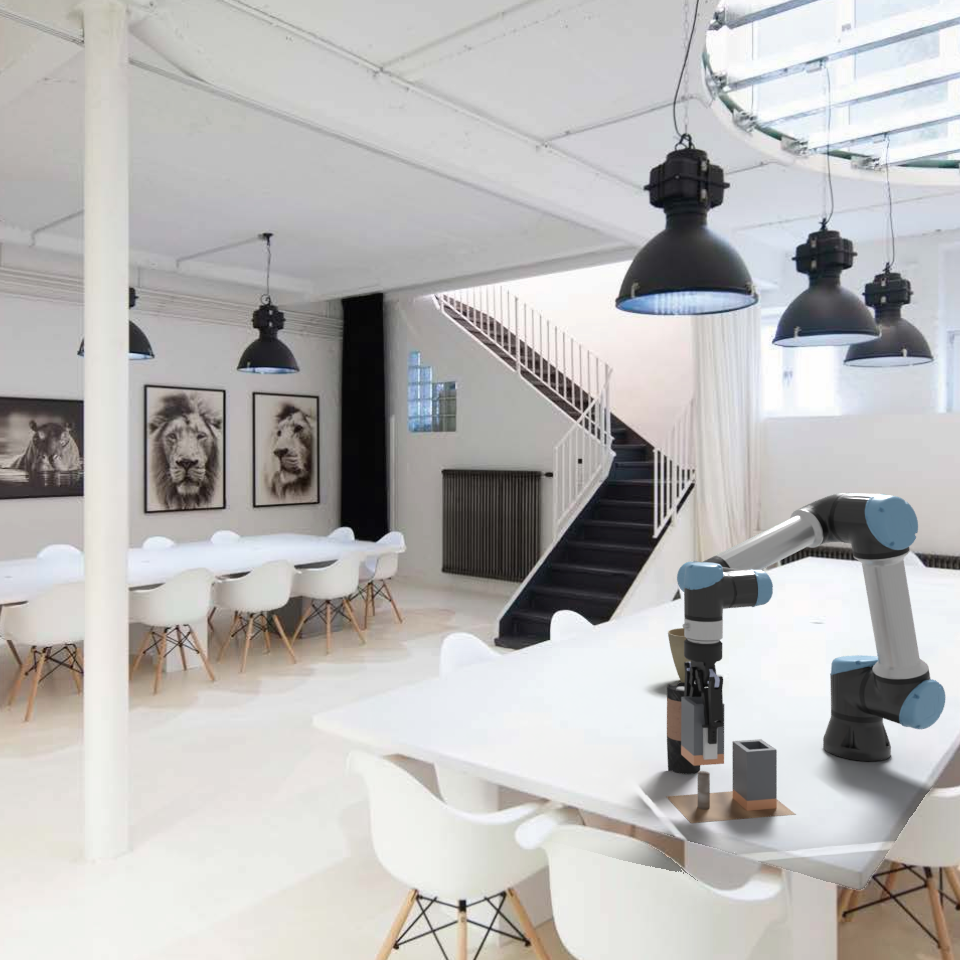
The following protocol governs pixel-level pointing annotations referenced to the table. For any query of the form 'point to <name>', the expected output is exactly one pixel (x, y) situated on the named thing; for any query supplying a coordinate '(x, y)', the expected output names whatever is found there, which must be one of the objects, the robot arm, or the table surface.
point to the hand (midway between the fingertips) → (702, 752)
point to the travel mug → (676, 732)
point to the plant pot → (678, 650)
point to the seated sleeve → (754, 774)
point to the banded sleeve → (697, 732)
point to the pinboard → (718, 805)
